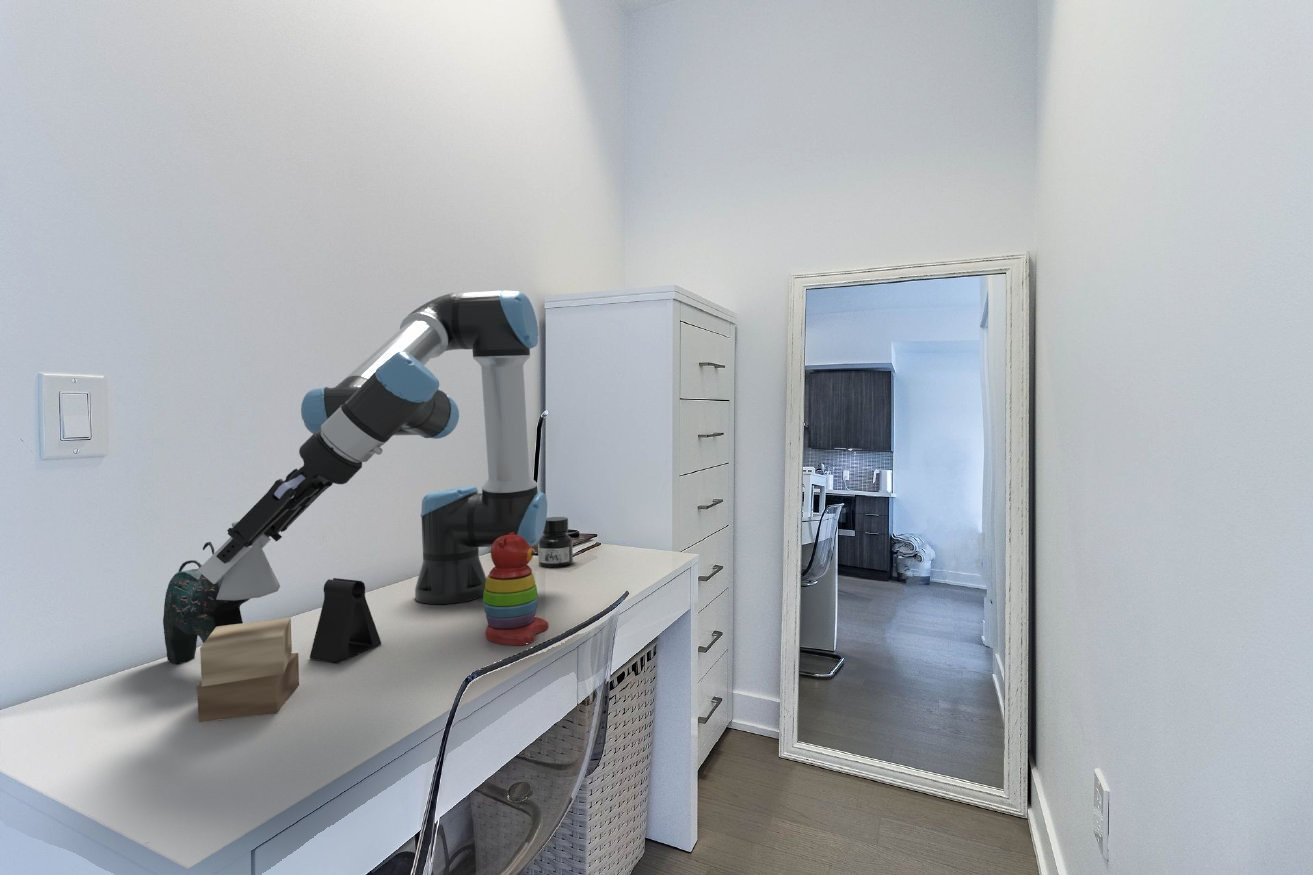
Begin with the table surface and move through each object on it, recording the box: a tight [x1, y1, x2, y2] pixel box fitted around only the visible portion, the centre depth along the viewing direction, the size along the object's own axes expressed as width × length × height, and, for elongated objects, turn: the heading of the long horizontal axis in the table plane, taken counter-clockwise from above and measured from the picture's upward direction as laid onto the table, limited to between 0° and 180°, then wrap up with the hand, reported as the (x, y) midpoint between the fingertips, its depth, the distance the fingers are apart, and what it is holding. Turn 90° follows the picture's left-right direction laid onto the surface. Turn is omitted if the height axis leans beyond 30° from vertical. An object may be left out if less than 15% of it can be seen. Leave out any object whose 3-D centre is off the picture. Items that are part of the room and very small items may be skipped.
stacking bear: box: [482, 532, 549, 646], centre depth 111 cm, size 11×10×18 cm
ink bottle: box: [537, 516, 574, 568], centre depth 165 cm, size 10×9×12 cm
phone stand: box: [309, 577, 382, 664], centre depth 104 cm, size 9×6×12 cm, turn 158°
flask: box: [216, 520, 281, 600], centre depth 85 cm, size 7×7×10 cm
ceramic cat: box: [162, 541, 250, 665], centre depth 97 cm, size 20×6×20 cm, turn 59°
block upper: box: [199, 616, 293, 687], centre depth 85 cm, size 9×9×5 cm
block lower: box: [196, 652, 300, 723], centre depth 85 cm, size 9×9×5 cm
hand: (218, 571), depth 85 cm, fingers closed on flask, 4 cm apart
